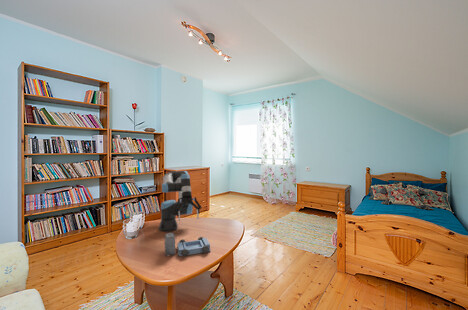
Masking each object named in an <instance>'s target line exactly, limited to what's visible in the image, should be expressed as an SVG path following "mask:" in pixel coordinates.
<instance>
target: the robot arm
mask: <svg viewBox="0 0 468 310" xmlns="http://www.w3.org/2000/svg"><path fill="white" fill-rule="evenodd" d="M191 186H192V184H191V176H190V174H189V172H188V171H187V170H179V171H178V170H176V171H175V170H174V171H173V170H172V171H168V172H166V173H165V174H164V175H163V177H162V183H161V192H162V193H174V192H175V193H176V192H178V194H177V195H178V199H177V201H176V200H175V199H170V200H169V199H168V200H164V201H162V202H161V205H160V215H161V216H160V223H159V225H158V229H159V231H160V232H166V233H169V232H173V231H175V230H176V231H177V229H178V228H179V227H178V226H179V225H178V222H180V221H181V216H188V215H192V214H193V207H194V208H195V209H196V218H197V219H199V218H200V216H199V215H200V211H201V210H202V206H201V204H200V202H199V201H198V200H197V197H196V196H195V197H193V196H192V187H191ZM193 201H194V202H193ZM176 216H177V217H178V221H177V217H176Z"/></svg>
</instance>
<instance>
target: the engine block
mask: <svg viewBox="0 0 468 310" xmlns="http://www.w3.org/2000/svg"><path fill="white" fill-rule="evenodd" d="M174 255H175V256H176V235H175V233H174V232H166V234H165V235H164V256H165V257H168V256H174Z"/></svg>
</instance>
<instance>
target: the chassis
mask: <svg viewBox="0 0 468 310" xmlns="http://www.w3.org/2000/svg"><path fill="white" fill-rule="evenodd" d="M176 245H177V253H178V257H183V258H184V257H188V256H192V255H197V254H202V253H203V254H208V253H209V252H211V243H210V242H209V240H208V238H207V237H203V236H199V237H198V238H197V239H196V240H190V241H189V240H187V241H186V240H185V239H180V240H179V241H178V242H177V244H176Z"/></svg>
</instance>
